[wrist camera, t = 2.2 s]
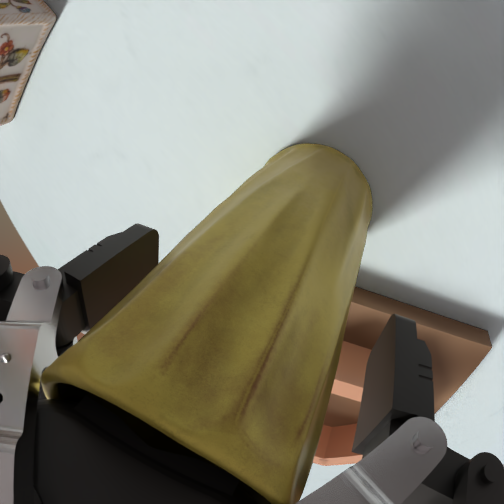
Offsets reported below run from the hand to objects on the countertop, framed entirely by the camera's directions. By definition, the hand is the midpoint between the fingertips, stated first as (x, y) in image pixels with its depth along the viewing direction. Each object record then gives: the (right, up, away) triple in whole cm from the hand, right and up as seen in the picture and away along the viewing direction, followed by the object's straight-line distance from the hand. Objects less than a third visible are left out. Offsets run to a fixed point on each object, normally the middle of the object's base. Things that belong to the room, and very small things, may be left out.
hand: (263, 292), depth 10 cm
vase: (+3, +4, +6) cm, 8 cm away
